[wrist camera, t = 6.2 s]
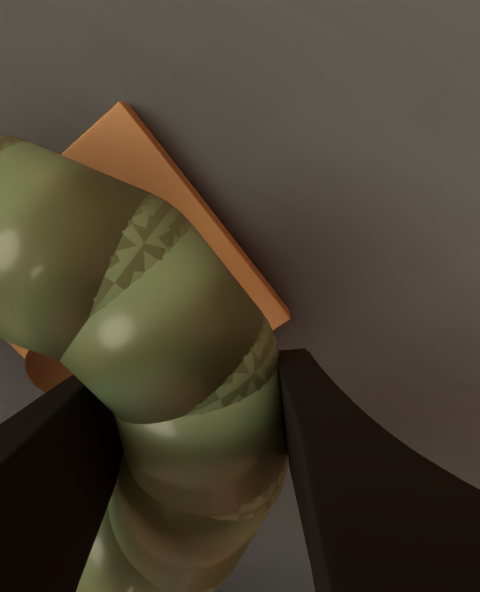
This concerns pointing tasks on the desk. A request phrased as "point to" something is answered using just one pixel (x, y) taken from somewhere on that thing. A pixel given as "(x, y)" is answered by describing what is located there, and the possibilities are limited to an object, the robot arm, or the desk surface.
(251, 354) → the ring
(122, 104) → the rack
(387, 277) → the desk surface
